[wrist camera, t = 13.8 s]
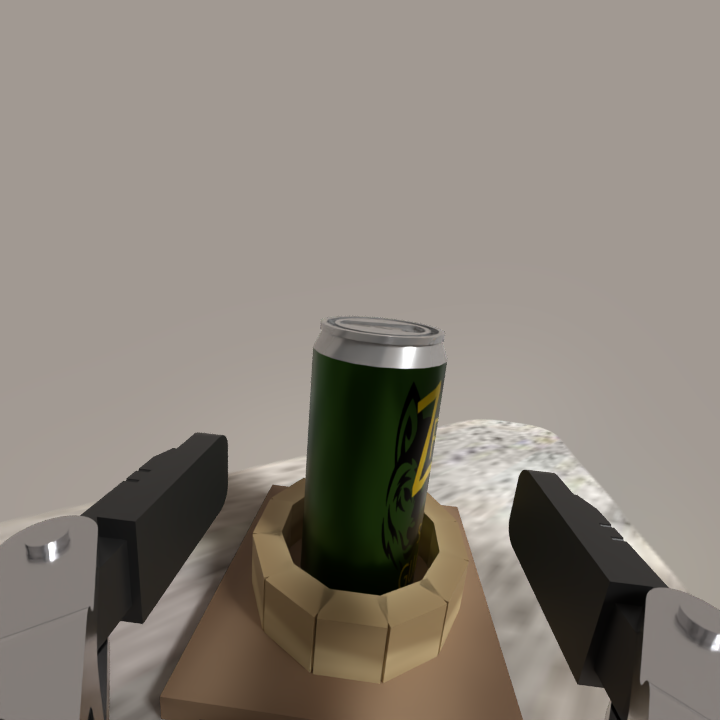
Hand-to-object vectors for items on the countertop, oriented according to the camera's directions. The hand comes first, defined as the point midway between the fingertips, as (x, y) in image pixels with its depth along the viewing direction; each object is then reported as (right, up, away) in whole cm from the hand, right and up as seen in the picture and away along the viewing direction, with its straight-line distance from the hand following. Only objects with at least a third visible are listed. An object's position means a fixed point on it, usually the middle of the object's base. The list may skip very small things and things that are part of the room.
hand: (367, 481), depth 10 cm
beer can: (0, -7, +7) cm, 10 cm away
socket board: (0, -8, +8) cm, 11 cm away
